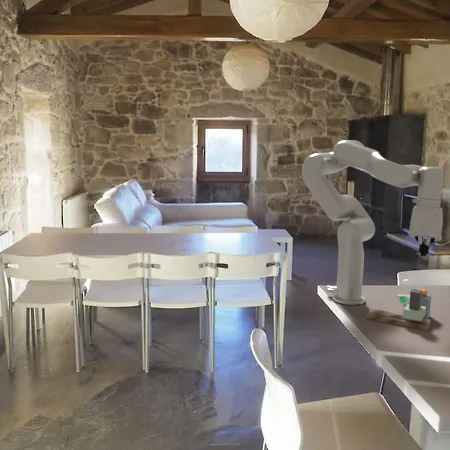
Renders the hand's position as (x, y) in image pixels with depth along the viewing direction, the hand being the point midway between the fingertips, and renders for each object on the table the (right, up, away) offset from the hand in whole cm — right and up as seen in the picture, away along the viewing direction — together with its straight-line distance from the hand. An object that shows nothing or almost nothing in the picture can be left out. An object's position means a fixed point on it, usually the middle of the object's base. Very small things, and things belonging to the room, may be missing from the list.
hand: (423, 255), depth 184 cm
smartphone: (+2, -19, +21) cm, 29 cm away
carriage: (-5, -20, -4) cm, 21 cm away
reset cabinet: (0, -22, +4) cm, 22 cm away
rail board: (-9, -23, -1) cm, 24 cm away
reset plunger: (0, -18, +3) cm, 18 cm away
